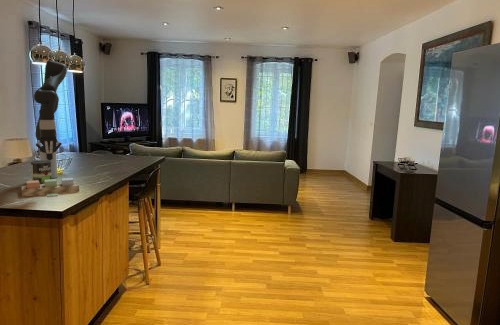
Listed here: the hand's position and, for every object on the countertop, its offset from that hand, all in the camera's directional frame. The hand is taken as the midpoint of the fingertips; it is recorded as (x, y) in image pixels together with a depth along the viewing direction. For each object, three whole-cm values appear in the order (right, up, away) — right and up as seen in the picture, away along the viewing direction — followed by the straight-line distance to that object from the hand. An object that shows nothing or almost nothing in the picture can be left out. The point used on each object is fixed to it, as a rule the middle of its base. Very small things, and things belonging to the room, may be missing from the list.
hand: (49, 160), depth 200 cm
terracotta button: (-8, -16, -2) cm, 18 cm away
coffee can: (-14, -15, +17) cm, 27 cm away
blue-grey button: (+6, -15, +7) cm, 17 cm away
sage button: (-1, -15, +2) cm, 15 cm away
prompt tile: (+4, -19, -4) cm, 20 cm away
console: (-1, -18, +3) cm, 18 cm away
